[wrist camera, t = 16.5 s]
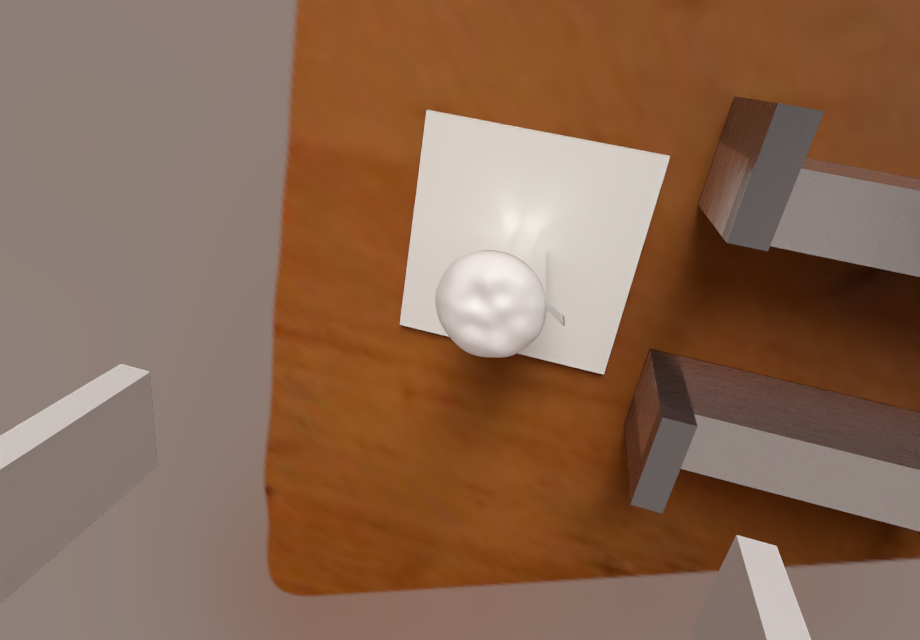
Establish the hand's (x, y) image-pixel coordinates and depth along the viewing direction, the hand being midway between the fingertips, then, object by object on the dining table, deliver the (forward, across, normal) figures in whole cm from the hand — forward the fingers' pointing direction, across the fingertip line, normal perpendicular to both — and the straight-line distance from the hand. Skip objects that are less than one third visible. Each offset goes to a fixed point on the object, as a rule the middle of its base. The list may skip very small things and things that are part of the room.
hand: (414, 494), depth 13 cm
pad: (+20, 0, 0) cm, 20 cm away
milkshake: (+20, 0, 0) cm, 20 cm away
